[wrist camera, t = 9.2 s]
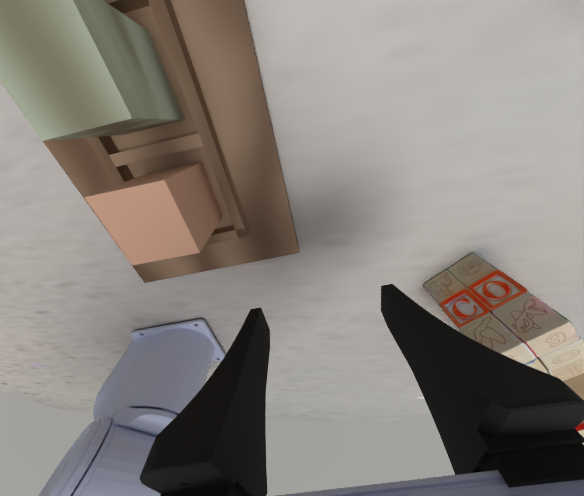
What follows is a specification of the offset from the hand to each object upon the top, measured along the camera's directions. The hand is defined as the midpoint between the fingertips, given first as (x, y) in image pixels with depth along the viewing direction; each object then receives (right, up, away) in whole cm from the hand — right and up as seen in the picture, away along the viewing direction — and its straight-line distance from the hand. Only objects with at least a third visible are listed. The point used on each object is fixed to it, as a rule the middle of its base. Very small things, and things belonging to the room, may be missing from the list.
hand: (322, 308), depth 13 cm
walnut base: (-11, +11, +4) cm, 16 cm away
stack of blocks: (+23, -5, +15) cm, 28 cm away
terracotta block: (-10, +8, +5) cm, 14 cm away
